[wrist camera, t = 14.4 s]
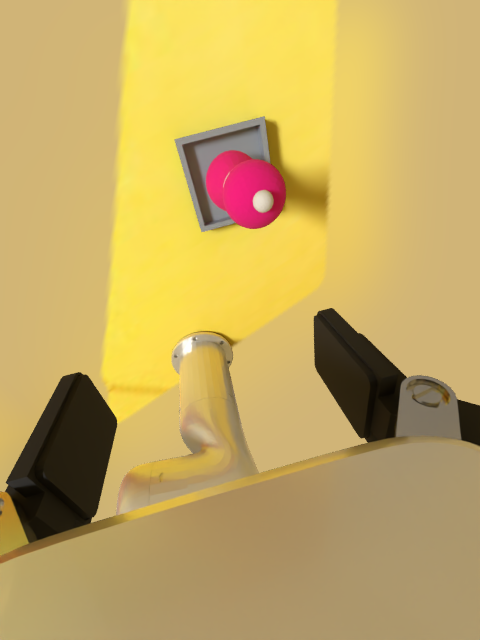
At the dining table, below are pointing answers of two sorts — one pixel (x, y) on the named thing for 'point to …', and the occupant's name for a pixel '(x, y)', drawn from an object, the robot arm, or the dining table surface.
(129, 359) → the dining table surface
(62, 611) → the robot arm
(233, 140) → the tray
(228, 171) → the pepper mill
